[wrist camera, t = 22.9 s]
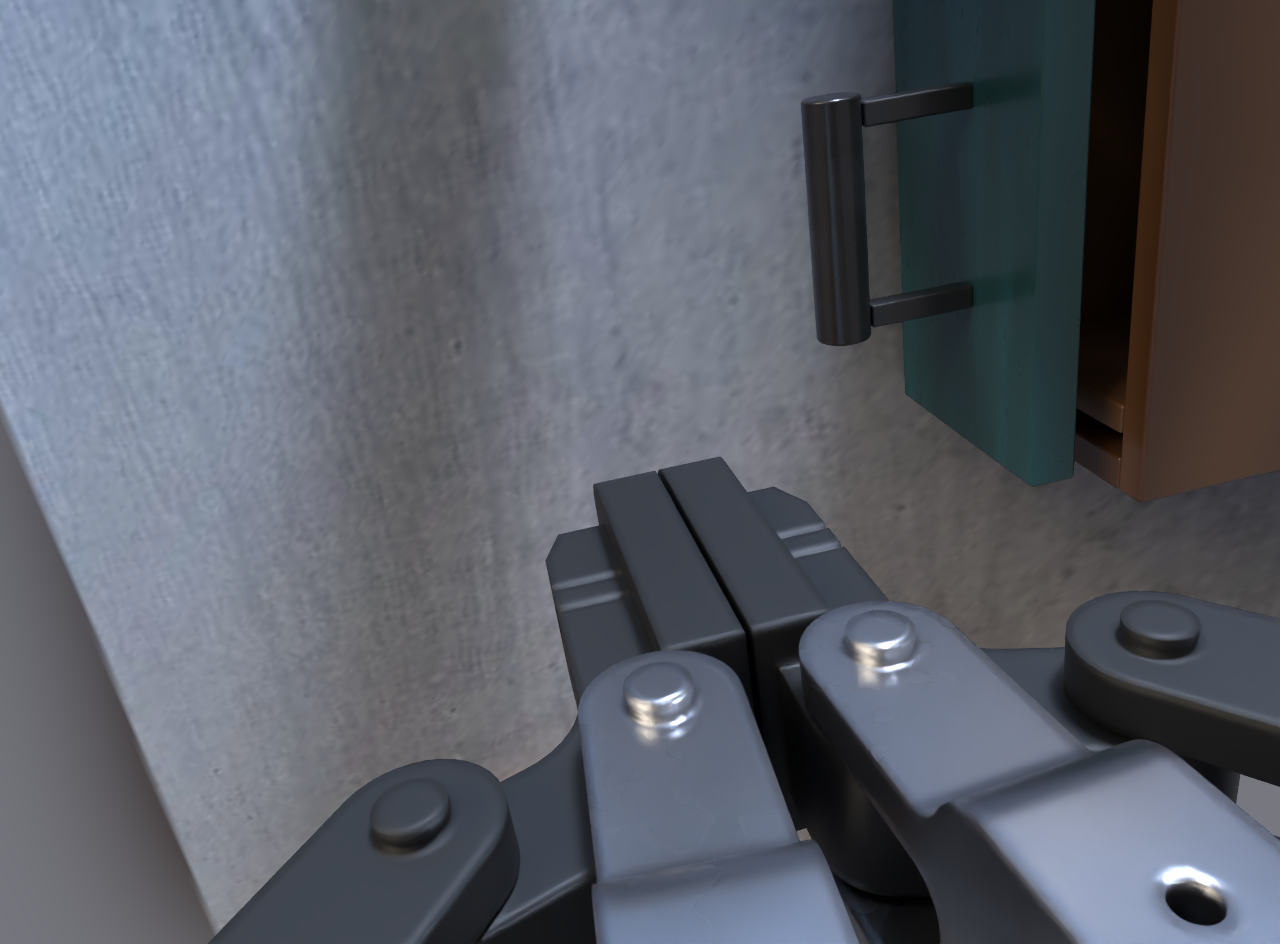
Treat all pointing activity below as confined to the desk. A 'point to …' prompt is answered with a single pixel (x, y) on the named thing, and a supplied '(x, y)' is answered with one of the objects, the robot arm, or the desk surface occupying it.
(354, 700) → the desk surface
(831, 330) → the drawer
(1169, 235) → the cabinet
